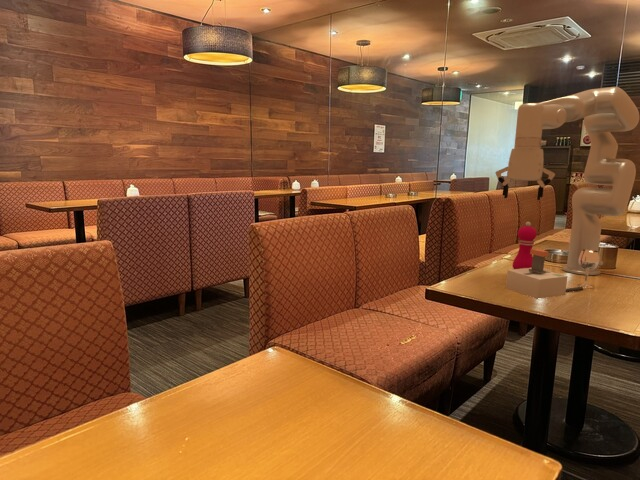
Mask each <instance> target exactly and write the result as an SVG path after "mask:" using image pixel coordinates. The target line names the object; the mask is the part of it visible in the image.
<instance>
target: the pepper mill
mask: <svg viewBox="0 0 640 480" xmlns="http://www.w3.org/2000/svg"><path fill="white" fill-rule="evenodd" d="M517 236H518V238H519V239H518V244H519V245H518V246H519V248H518V252H517V254H516V255H515V257H514V259H513V261H512V266H511V267H512V268H513V269H523V268H532V261H533V254H530V251H531V249H533V246H534V245H535V239H536V238H537V236H538V234H537V230H536V228H535V227H533V226H532V223H531V222H530V221H526V222H525V225H524V226H521V227H520V228H519V229H518V231H517Z"/></svg>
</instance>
